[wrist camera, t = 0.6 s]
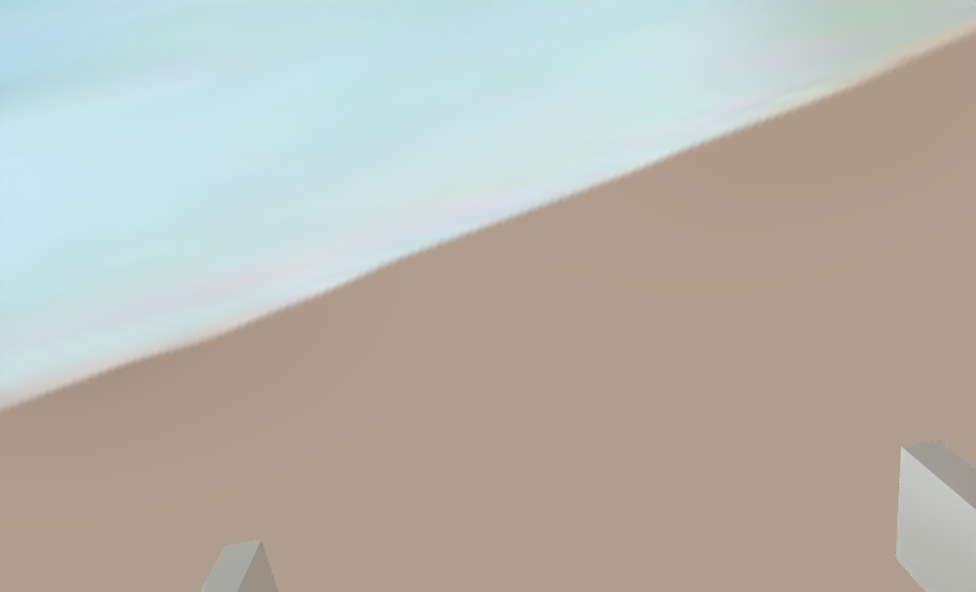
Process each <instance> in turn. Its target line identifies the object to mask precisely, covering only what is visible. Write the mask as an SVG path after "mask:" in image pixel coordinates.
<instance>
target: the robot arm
mask: <svg viewBox="0 0 976 592" xmlns="http://www.w3.org/2000/svg"><path fill="white" fill-rule="evenodd" d="M898 504H899V505H898V523H897V544H896V559H897V560H898V561H899V562H900V564H902V566H903V567H904V568H905V569H906V570H907V571H908V572H909V574H910V575H911V576H912V577H913V578H914V579H915V580H916V581H917V583H918V584H919V585H920V586H921V587H922V588H923V589H924V590H925V592H976V468H975V467H973V466H972V465H971V464H969V463H968V462H967V461H965V460H964V459H963V458H962V457H960V456H959V455H957V454H956V453H955V452H954V451H952V450H951V449H950V448H948V447H947V446H946V445H945V444H943V443H942V442H940V441H937V442H929V443H922V444H916V445H908V446H902V447H901V464H900V483H899V503H898ZM200 592H278V589H277V586H276V583H275V580H274V576H273V573H272V570H271V567H270V564H269V561H268V558H267V555H266V552H265V549H264V546H263V543H262V540H256V541H250V542H242V543H236V544H228V545H225V547H224V549H223V551H222V552H221V554H220V556H219V558H218V560H217V562H216V563H215V565H214V567H213V569H212V571H211V572H210V574H209V576H208V578H207V580H206V582H205V584H204V585H203V587H202V589H201V591H200Z"/></svg>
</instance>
